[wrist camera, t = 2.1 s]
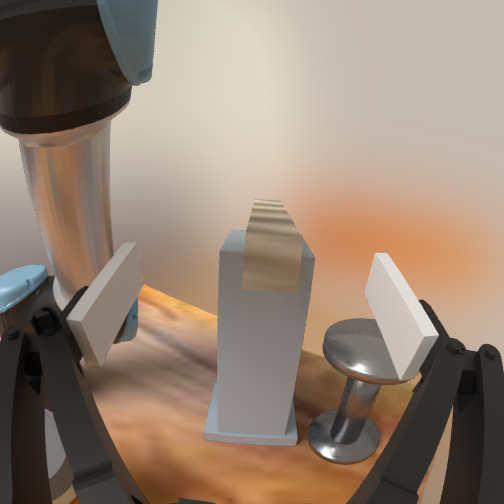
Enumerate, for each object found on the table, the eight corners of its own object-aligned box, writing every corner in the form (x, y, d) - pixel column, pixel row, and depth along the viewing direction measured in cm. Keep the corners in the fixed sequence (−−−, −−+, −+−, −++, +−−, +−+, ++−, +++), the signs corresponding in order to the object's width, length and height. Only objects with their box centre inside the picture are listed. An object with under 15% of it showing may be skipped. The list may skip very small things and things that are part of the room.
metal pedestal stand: (283, 438, 40) (302, 342, 35) (333, 399, 49) (356, 310, 44) (354, 483, 30) (404, 390, 25) (396, 431, 39) (436, 340, 34)
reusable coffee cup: (16, 489, 19) (-38, 418, 15) (79, 461, 29) (43, 389, 25) (59, 557, 12) (-9, 506, 8) (131, 519, 22) (94, 461, 18)
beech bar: (297, 293, 21) (303, 238, 20) (241, 289, 21) (245, 234, 20) (278, 225, 48) (280, 200, 47) (253, 223, 48) (255, 199, 47)
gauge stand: (295, 445, 38) (334, 260, 30) (204, 440, 39) (199, 250, 31) (290, 393, 51) (314, 234, 43) (215, 388, 51) (217, 227, 43)
